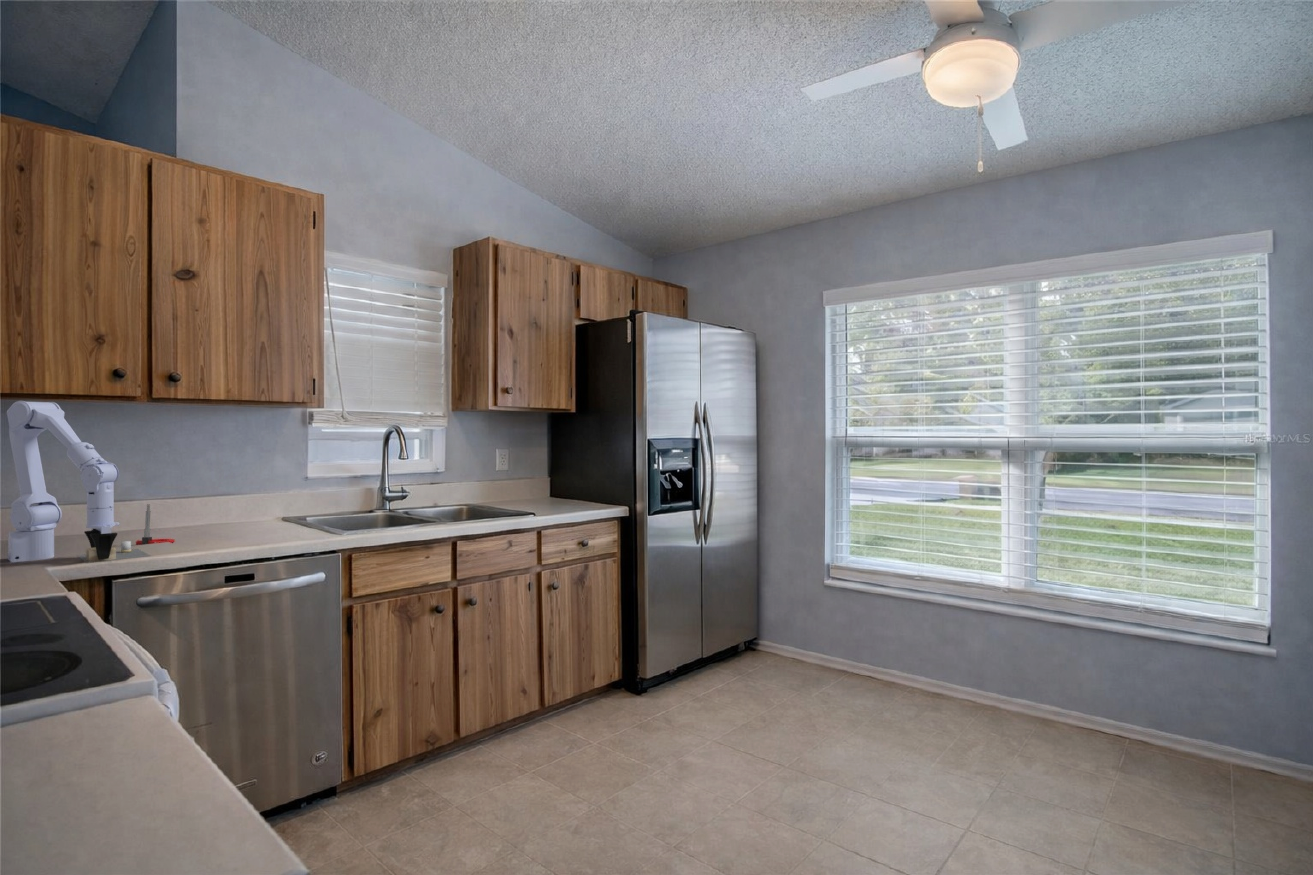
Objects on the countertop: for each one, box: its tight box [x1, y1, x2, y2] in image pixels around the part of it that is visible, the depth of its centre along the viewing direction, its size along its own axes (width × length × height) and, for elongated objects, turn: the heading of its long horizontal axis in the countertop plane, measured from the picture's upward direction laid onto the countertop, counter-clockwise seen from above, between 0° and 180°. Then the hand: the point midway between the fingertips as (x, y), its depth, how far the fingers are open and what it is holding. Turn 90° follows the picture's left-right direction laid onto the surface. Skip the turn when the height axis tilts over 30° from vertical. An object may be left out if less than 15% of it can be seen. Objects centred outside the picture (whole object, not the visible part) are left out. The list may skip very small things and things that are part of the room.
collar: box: [85, 545, 117, 563], centre depth 188 cm, size 6×6×3 cm
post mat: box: [76, 540, 152, 564], centre depth 193 cm, size 14×16×4 cm
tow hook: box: [135, 503, 176, 546], centre depth 220 cm, size 8×13×9 cm
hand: (100, 557), depth 188 cm, fingers open, 6 cm apart
